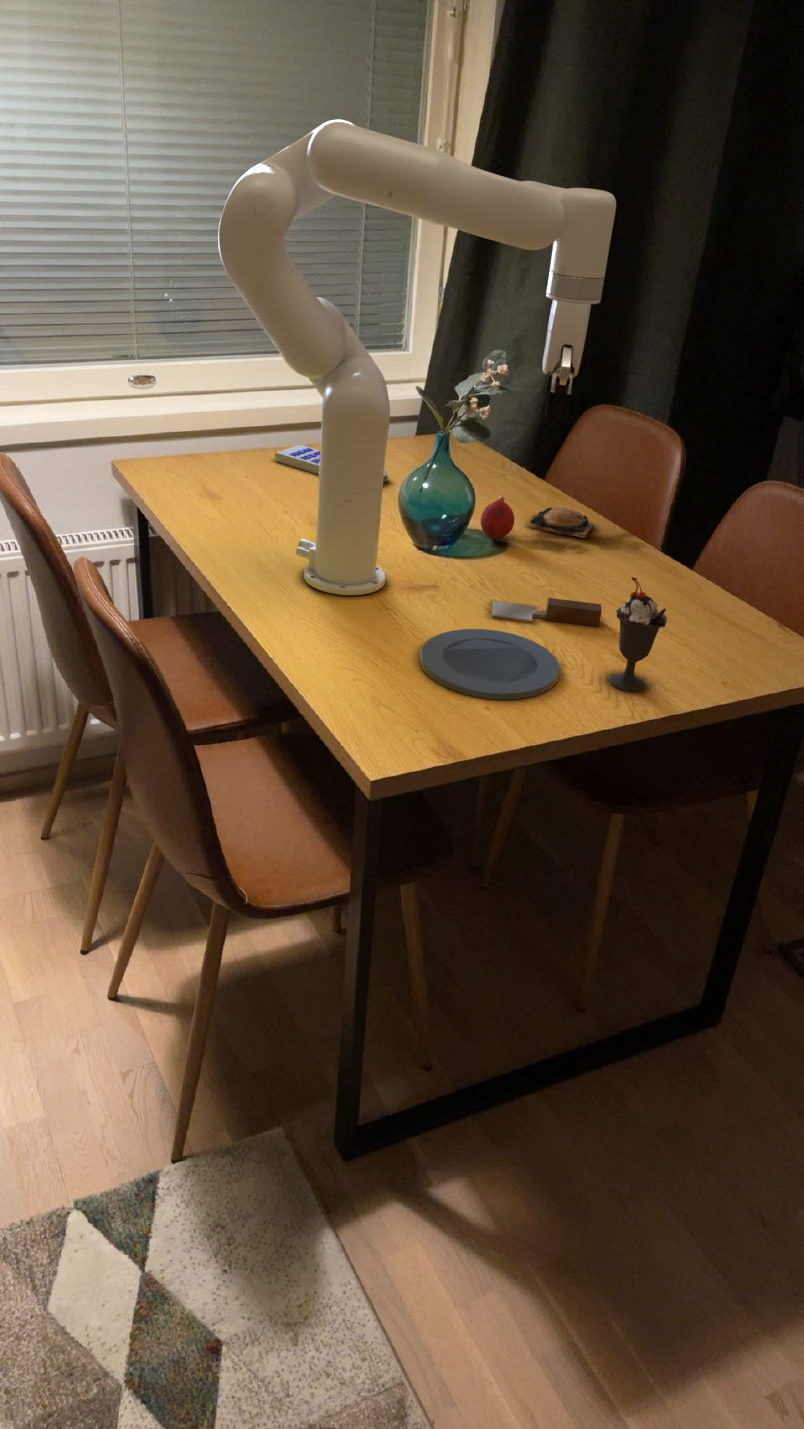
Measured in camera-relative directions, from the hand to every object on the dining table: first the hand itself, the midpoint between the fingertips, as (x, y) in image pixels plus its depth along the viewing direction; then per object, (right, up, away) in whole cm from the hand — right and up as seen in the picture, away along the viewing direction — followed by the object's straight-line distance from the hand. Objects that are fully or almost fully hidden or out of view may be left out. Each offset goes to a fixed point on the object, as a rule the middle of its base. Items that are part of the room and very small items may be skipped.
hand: (555, 412), depth 163 cm
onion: (-6, -14, +32) cm, 36 cm away
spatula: (-1, -29, +6) cm, 30 cm away
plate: (-10, -37, -9) cm, 40 cm away
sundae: (+8, -40, -10) cm, 42 cm away
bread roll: (+7, -10, +41) cm, 43 cm away
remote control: (-36, +4, +58) cm, 68 cm away
